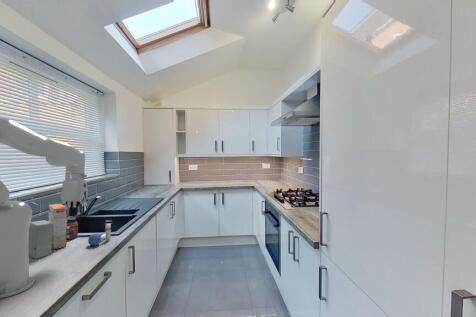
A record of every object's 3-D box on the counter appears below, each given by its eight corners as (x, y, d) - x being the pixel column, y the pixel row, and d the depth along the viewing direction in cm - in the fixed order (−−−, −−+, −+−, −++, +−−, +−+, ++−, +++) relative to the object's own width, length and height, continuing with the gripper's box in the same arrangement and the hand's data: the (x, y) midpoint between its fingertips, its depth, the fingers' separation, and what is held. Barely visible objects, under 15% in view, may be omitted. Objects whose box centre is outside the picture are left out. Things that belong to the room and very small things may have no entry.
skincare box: (26, 255, 113) (26, 222, 113) (44, 250, 120) (44, 219, 119) (35, 259, 109) (35, 225, 109) (53, 254, 116) (53, 221, 115)
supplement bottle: (69, 240, 133) (69, 220, 133) (62, 238, 136) (62, 219, 136) (80, 237, 139) (80, 218, 139) (73, 235, 141) (73, 216, 141)
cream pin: (100, 237, 132) (108, 231, 141) (96, 238, 132) (104, 232, 141) (101, 241, 132) (109, 235, 141) (97, 242, 132) (105, 236, 141)
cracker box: (67, 246, 125) (67, 206, 124) (52, 250, 120) (52, 208, 120) (61, 240, 134) (61, 202, 134) (47, 242, 130) (47, 204, 130)
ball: (104, 235, 131) (101, 246, 128) (93, 235, 131) (90, 246, 128) (99, 232, 126) (96, 244, 123) (87, 232, 126) (84, 244, 123)
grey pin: (109, 241, 133) (109, 225, 133) (104, 241, 133) (104, 225, 133) (111, 239, 136) (111, 223, 136) (106, 239, 136) (106, 223, 135)
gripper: (95, 177, 118) (93, 214, 117) (64, 176, 117) (62, 214, 117) (86, 177, 110) (84, 217, 110) (53, 177, 110) (51, 217, 109)
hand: (73, 215), depth 113 cm, fingers closed
